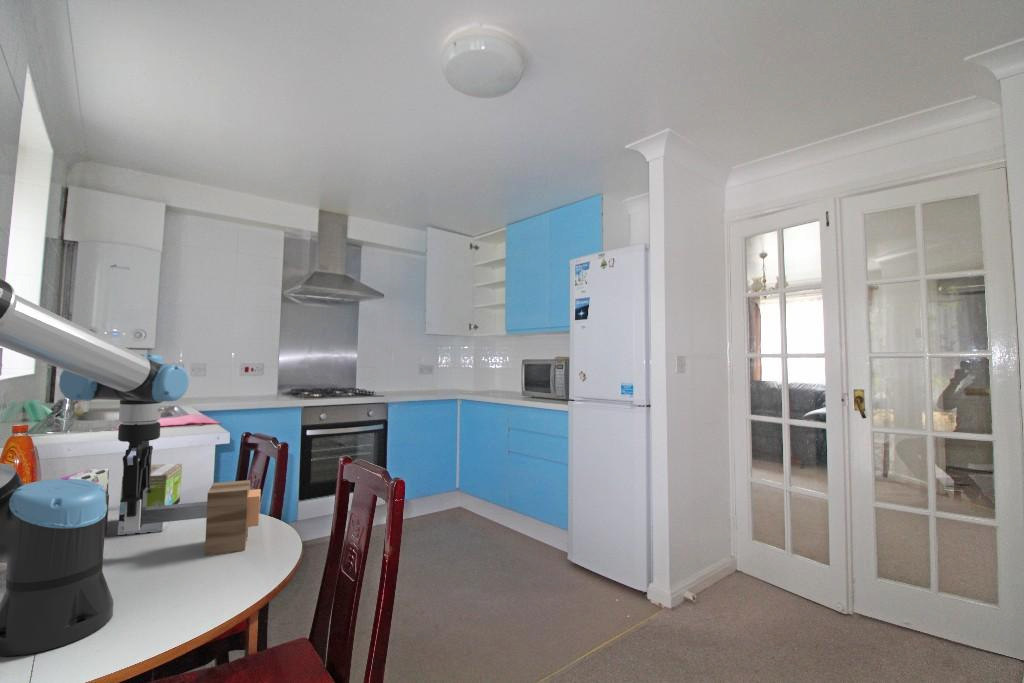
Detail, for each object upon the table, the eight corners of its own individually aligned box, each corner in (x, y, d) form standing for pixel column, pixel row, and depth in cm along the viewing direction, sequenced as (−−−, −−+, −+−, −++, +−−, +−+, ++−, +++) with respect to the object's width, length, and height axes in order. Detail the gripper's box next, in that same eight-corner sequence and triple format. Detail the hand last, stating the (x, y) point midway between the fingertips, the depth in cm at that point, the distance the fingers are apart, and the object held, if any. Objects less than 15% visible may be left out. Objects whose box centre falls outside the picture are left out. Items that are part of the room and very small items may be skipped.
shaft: (248, 516, 116) (250, 482, 117) (124, 529, 106) (126, 492, 106) (249, 511, 120) (251, 478, 120) (129, 523, 110) (131, 487, 110)
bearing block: (244, 550, 113) (247, 489, 114) (204, 555, 110) (207, 493, 110) (247, 536, 122) (250, 480, 123) (210, 540, 119) (213, 482, 119)
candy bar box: (85, 534, 121) (88, 468, 122) (107, 534, 122) (110, 468, 122) (49, 552, 110) (53, 479, 111) (73, 551, 111) (77, 478, 111)
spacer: (258, 525, 116) (259, 496, 116) (246, 527, 115) (247, 497, 115) (259, 517, 122) (260, 489, 122) (248, 518, 121) (249, 490, 121)
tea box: (164, 532, 124) (167, 473, 125) (116, 536, 120) (119, 476, 121) (180, 514, 138) (182, 462, 139) (137, 517, 134) (140, 464, 135)
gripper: (150, 426, 103) (145, 537, 102) (168, 417, 119) (164, 513, 118) (106, 427, 100) (100, 542, 99) (131, 418, 116) (126, 517, 115)
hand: (135, 526), depth 108 cm, fingers closed on shaft, 4 cm apart
